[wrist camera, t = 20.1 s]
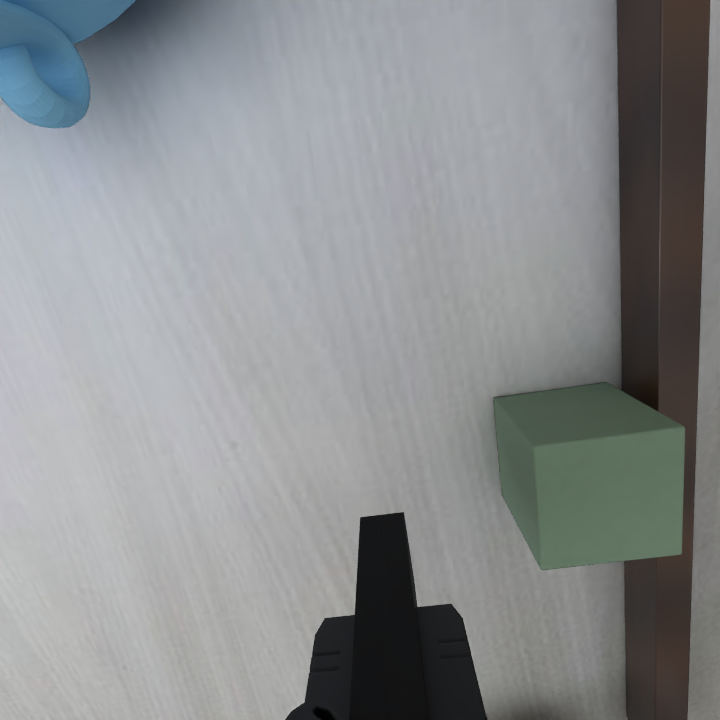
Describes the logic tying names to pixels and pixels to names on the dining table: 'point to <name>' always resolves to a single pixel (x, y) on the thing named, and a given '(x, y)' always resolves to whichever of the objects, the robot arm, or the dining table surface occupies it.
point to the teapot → (49, 56)
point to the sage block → (591, 475)
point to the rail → (662, 306)
